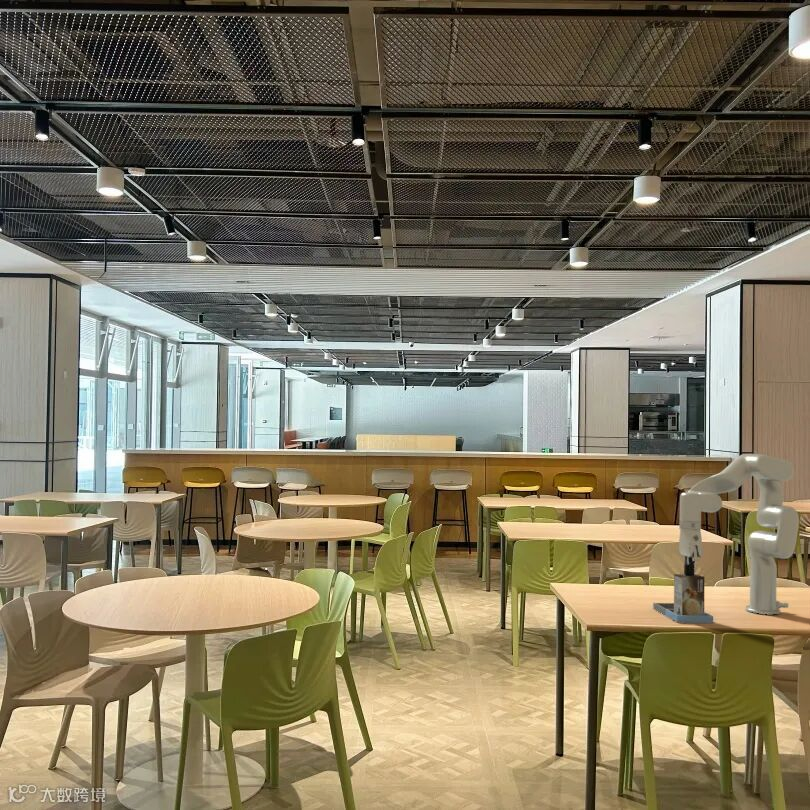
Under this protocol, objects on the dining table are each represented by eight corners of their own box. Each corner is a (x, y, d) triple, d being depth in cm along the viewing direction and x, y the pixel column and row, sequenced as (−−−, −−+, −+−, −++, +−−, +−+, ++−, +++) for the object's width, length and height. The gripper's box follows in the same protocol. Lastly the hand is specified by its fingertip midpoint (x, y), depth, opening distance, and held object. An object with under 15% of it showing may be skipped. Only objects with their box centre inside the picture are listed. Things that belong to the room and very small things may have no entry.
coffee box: (695, 616, 299) (696, 573, 299) (704, 620, 292) (705, 576, 293) (672, 616, 297) (673, 573, 298) (681, 620, 291) (682, 576, 291)
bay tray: (686, 609, 311) (686, 603, 312) (713, 623, 290) (713, 616, 290) (653, 609, 310) (653, 602, 310) (677, 622, 289) (677, 615, 289)
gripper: (709, 528, 289) (708, 579, 288) (690, 523, 304) (689, 571, 303) (689, 527, 288) (688, 578, 288) (671, 523, 303) (670, 571, 302)
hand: (689, 575), depth 295 cm, fingers closed
